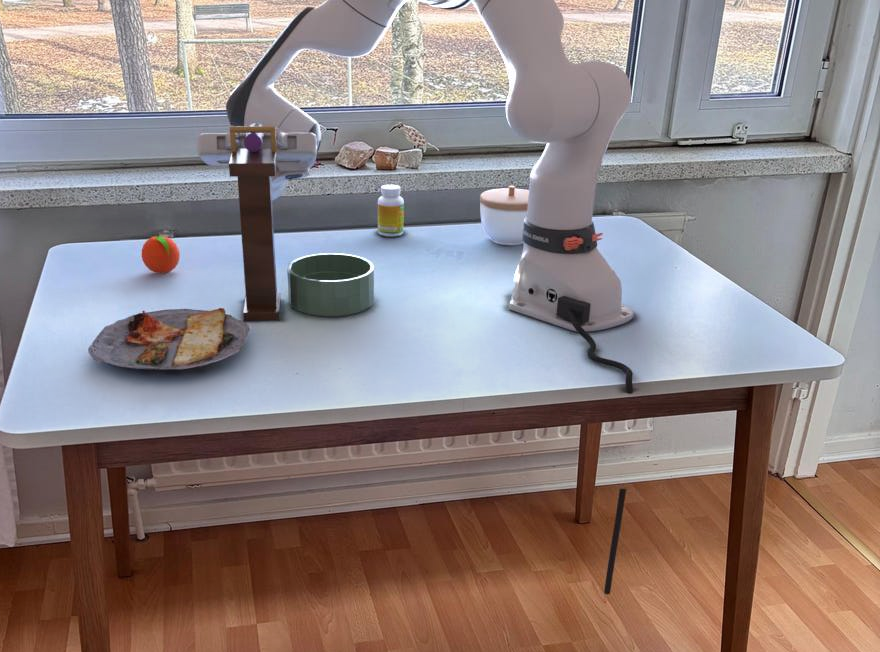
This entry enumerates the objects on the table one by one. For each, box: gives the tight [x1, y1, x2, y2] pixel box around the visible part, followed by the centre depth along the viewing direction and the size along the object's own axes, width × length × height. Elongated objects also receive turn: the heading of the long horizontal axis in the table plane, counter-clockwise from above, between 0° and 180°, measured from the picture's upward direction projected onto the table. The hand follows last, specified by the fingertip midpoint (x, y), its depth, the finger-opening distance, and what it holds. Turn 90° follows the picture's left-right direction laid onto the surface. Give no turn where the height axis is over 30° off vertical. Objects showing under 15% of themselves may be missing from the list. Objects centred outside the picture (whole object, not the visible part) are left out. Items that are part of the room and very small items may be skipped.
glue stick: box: [244, 123, 264, 152], centre depth 164 cm, size 12×3×3 cm, turn 5°
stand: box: [228, 125, 282, 322], centre depth 163 cm, size 10×7×30 cm
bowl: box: [286, 252, 375, 318], centre depth 173 cm, size 15×15×6 cm
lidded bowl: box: [479, 185, 529, 246], centre depth 204 cm, size 13×13×11 cm
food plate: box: [87, 307, 251, 372], centre depth 156 cm, size 25×23×4 cm
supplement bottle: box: [377, 184, 405, 238], centre depth 208 cm, size 5×5×10 cm
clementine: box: [141, 234, 180, 275], centre depth 185 cm, size 8×7×7 cm
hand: (255, 133), depth 164 cm, fingers open, 5 cm apart
